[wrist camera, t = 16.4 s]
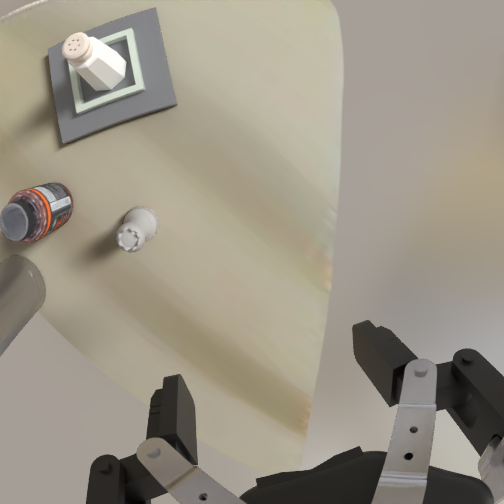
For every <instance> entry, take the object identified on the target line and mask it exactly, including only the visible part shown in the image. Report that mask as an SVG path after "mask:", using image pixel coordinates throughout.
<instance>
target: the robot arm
mask: <svg viewBox="0 0 504 504" xmlns="http://www.w3.org/2000/svg"><path fill="white" fill-rule="evenodd" d="M44 300H45V284H44V281H43V278H42V276H41V274H40V272H39V271H38V269H37V268H36V267H35V265H34V264H33V263H32V262H30V261H29V260H28V259H26V258H24V257H22V256H10V257H8V258H6V259H5V260H3V261H2V262H0V356H1V355H2V354H3V352H4V351H5V350H6V349H7V347H8V346H9V345H10V343H11V342H12V341H13V340H14V338H15V337H16V336H17V335H18V333H19V332H20V331H21V330H22V329H23V327H24V326H25V325H26V324H27V323H28V321H29V320H30V319H31V318H32V317H33V316H34V314H35V313H36V312H37V311H38V310H39V308H40V307H41V306H42V305H43V303H44ZM352 331H353V348H354V355H355V358H356V360H357V362H358V364H359V365H360V366H361V368H362V369H363V371H364V372H365V373H366V375H367V376H368V378H369V379H370V380H371V382H372V383H373V385H374V386H375V387H376V389H377V390H378V391H379V393H380V394H381V395H382V397H383V398H384V400H385V401H386V403H387V404H388V405H389V407H391V406H394V405H396V404H398V409H397V414H396V419H395V424H394V428H393V433H392V436H391V440H390V445H389V448H388V452H383V451H366V452H362V450H361V448H360V446H358V447H356V448H353V449H351V450H348V451H346V452H343V453H340V454H338V455H335V456H333V457H332V458H330V459H328V460H327V461H325V462H324V463H322V464H320V465H319V466H317V467H315V468H313V469H311V470H304V471H293V472H281V473H277V474H274V475H270V476H266V477H261V478H257V479H256V482H257V486H255V487H253V488H251V489H250V490H248V491H246V492H245V493H244V494H242V495H241V496H240V497H239V498H238V497H236V496H235V495H234V494H233V493H231V492H230V491H228V490H227V489H226V488H224V487H223V486H222V485H220V484H219V483H218V482H217V481H215V480H214V479H213V478H211V477H210V476H209V475H208V474H206V473H205V472H204V471H203V470H202V469H200V468H199V467H197V466H193V465H198V459H197V442H196V418H195V405H194V401H193V398H192V396H191V394H190V392H189V390H188V388H187V386H186V384H185V382H184V380H183V378H182V376H181V375H180V374H177V375H173V376H168V377H164V380H163V389H158V390H156V391H155V393H154V394H153V396H152V397H151V402H150V411H149V418H148V427H147V437H146V440H145V441H144V442H143V443H141V444H140V445H139V447H138V449H137V453H136V454H134V455H131V456H129V457H126V458H123V459H120V460H118V459H117V458H116V457H115V456H113V455H103V456H100V457H98V458H97V459H96V460H95V461H94V462H93V463H92V465H91V469H90V476H89V484H88V491H87V499H86V504H151V499H152V498H155V497H158V496H160V495H163V494H165V493H168V492H169V493H170V494H171V495H172V496H173V497H174V498H175V499H176V500H177V501H178V502H179V503H180V504H498V503H499V502H500V501H502V500H503V499H504V377H503V375H502V374H501V373H499V371H497V370H496V369H495V368H494V367H493V366H492V365H491V364H490V363H489V362H488V361H487V360H486V359H485V358H484V357H483V356H482V355H481V354H480V353H479V352H477V351H476V350H473V349H462V350H459V351H457V352H456V353H455V354H454V356H453V361H450V362H446V363H441V364H434V363H433V362H432V361H430V360H428V359H418V358H417V357H416V356H415V355H414V354H413V353H412V351H410V349H409V348H408V347H407V346H406V345H405V344H404V343H402V342H401V340H400V339H398V337H396V335H395V334H394V333H393V332H392V331H391V330H389V329H387V328H384V327H382V326H380V327H377V328H376V327H375V326H374V325H373V324H372V323H371V322H370V321H369V320H366V321H363V322H360V323H358V324H355V325H353V328H352ZM443 409H446V410H447V412H448V413H449V414H450V416H451V417H452V418H453V420H454V421H455V422H456V423H457V425H458V426H459V428H460V429H461V430H462V432H463V433H464V434H465V436H466V437H467V439H468V440H469V441H470V443H471V444H472V445H473V447H474V448H475V450H476V451H477V452H478V454H479V455H480V457H481V458H480V460H479V463H478V470H479V472H480V475H481V480H480V479H477V478H475V477H471V476H466V475H463V474H459V473H455V472H451V471H447V470H443V469H440V468H436V467H433V466H430V465H429V462H430V456H431V450H432V443H433V435H434V427H435V418H436V411H439V410H443Z"/></svg>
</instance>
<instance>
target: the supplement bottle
mask: <svg viewBox="0 0 504 504" xmlns="http://www.w3.org/2000/svg"><path fill="white" fill-rule="evenodd" d="M72 211H73V200H72V196H71V193H70V192H69V190H68V189H67V188H66V187H65V186H64V185H62V184H60V183H48V184H44V185H40V186H36V187H32V188H28V189H25V190H22V191H19V192H17V193H16V194H15V195H14V196H13V197H12V198H11V199H10V201H9V203H8V205H6V206H5V207H4V208H3V210H2V212H1V216H0V225H1V229H2V231H3V233H4V235H5V236H6V237H7V238H8V239H10V240H12V241H21V242H24V243H32V242H35V241H37V240H39V239H41V238H43V237H44V236H45V235H47V234H49V233H51V232H52V231H54V230H56V229H57V228H59V227H60V226H62V225H64V224H65V223H66V222H67V221H68V220H69V218H70V216H71V214H72Z"/></svg>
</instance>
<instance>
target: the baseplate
mask: <svg viewBox="0 0 504 504" xmlns="http://www.w3.org/2000/svg"><path fill="white" fill-rule="evenodd" d="M83 33H84V34H86V35H87V36H88V37H94V38H96V39H98V40H99V41H101V42H102V43H104V44H106V45H107V46H109V47H110V48H112V49H113V50H115V51H116V52H117V53H118V54H119V55H120V56H121V57H122V58H123V59H124V60H125V61H126V62H127V64H126V70H125V78H124V79H123V80H121V81H120V82H119V83H118V84H117V85H116V86H115V87H114V88H113V89H112V90H101V91H95V90H94V89H93V88H92V87H91V86H90V85H89V83H88V82H87V81H86V80H85V79H84V78H83V77H82V76H81V75H80V74H79V73H78V72H77V71H76V70H75V69H74V68H73V67H72V66H71V65H70V64H69V62H68V61H67V60H68V59H66V58H65V57H64V56H63V54H62V46H63V44H64V42H65V41H66V40H65V41H63V42H61V43H59V44H57V45H55V46H53V47H51V48H49V49H48V56H49V65H50V73H51V81H52V88H53V95H54V101H55V107H56V113H57V118H58V123H59V128H60V133H61V138H62V142H63V144H68V143H70V142H72V141H75V140H77V139H80V138H82V137H84V136H87V135H89V134H92V133H95V132H97V131H100V130H102V129H105V128H108V127H110V126H113V125H116V124H119V123H122V122H125V121H128V120H130V119H133V118H136V117H140V116H143V115H146V114H149V113H152V112H156V111H159V110H162V109H166V108H169V107H173V106H176V105H177V102H176V97H175V93H174V89H173V84H172V80H171V75H170V71H169V66H168V62H167V57H166V53H165V48H164V43H163V39H162V34H161V29H160V24H159V19H158V14H157V10H156V7H155V8H152V9H148V10H145V11H141V12H138V13H135V14H132V15H129V16H125V17H123V18H120V19H117V20H114V21H111V22H108V23H106V24H103V25H100V26H98V27H95V28H93V29H90V30H88V31H86V32H83Z"/></svg>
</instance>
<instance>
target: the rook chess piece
mask: <svg viewBox="0 0 504 504" xmlns="http://www.w3.org/2000/svg"><path fill="white" fill-rule="evenodd" d="M158 227H159V226H158V218H157V216H156V214H155V213H154V212H153V211H152V210H151V209H150V208H147V207H144V206H141V207H135V208H133V209H131V210H130V211H129V212H128V214H127V215H126V216H125V219H124V223H123V225H121V226H120V227H119V228H118V230H117V233H116V241H117V243H118V245H119V247H120V248H121V249H123V250H124V251H127V252H136V251H138V250H140V249H141V248H142V247H143V245H144V242H146V241H148V240H150V239H151V238H152V237H153V236H154V235H155V234H156V232H157V230H158Z"/></svg>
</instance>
